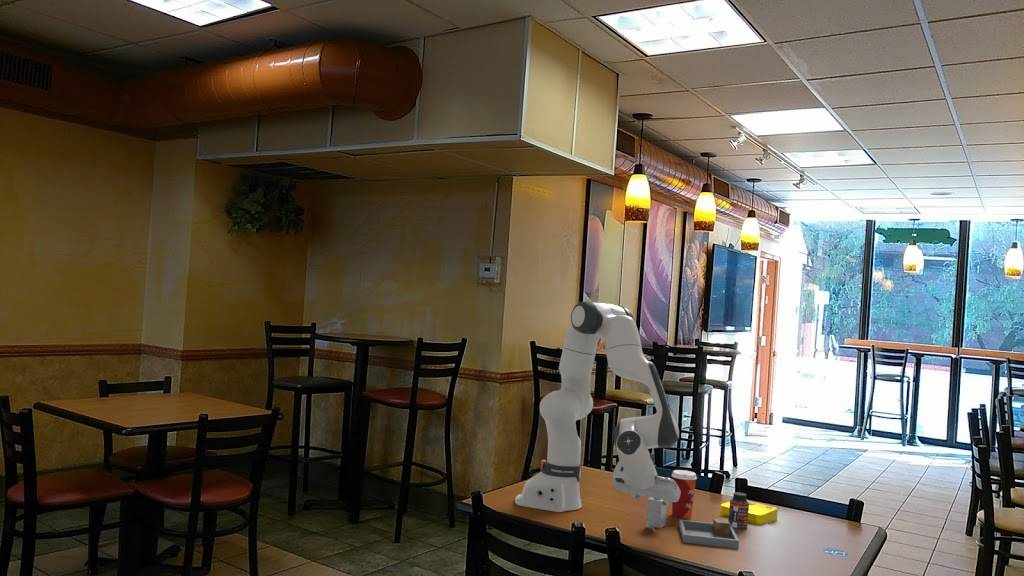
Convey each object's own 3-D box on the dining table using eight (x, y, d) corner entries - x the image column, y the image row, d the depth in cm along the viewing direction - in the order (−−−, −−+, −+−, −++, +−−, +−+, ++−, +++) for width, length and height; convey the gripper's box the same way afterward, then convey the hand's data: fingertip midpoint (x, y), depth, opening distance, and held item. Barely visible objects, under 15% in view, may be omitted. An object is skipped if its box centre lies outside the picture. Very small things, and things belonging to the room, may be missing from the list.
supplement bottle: (737, 532, 232) (739, 496, 232) (723, 527, 237) (726, 491, 237) (751, 531, 234) (753, 495, 235) (737, 525, 240) (739, 490, 240)
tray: (683, 545, 216) (683, 534, 216) (679, 529, 231) (679, 519, 231) (738, 551, 214) (739, 540, 214) (730, 534, 229) (731, 525, 229)
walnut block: (716, 535, 224) (717, 522, 224) (712, 531, 228) (713, 518, 228) (729, 536, 224) (730, 523, 224) (725, 532, 228) (726, 519, 228)
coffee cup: (694, 523, 239) (697, 476, 239) (668, 519, 241) (671, 473, 241) (693, 516, 247) (696, 471, 248) (668, 513, 249) (671, 468, 249)
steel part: (659, 530, 228) (661, 499, 229) (646, 527, 231) (648, 496, 231) (665, 527, 232) (667, 496, 232) (651, 524, 235) (653, 494, 235)
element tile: (717, 517, 249) (718, 503, 250) (737, 510, 260) (738, 496, 261) (759, 528, 239) (760, 514, 239) (779, 521, 250) (780, 506, 250)
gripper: (678, 471, 216) (687, 498, 224) (613, 459, 227) (625, 486, 235) (671, 489, 212) (681, 516, 220) (606, 476, 223) (618, 503, 231)
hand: (651, 500), depth 228 cm, fingers open, 8 cm apart
